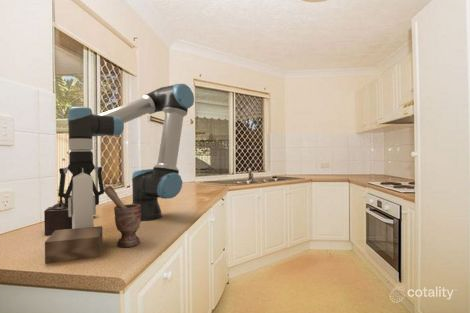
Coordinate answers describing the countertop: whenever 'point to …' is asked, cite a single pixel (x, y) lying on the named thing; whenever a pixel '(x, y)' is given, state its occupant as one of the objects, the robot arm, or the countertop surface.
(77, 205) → the milk
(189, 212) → the countertop surface
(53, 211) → the coffee grinder
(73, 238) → the riser
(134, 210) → the mortar and pestle
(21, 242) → the countertop surface
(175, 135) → the robot arm
